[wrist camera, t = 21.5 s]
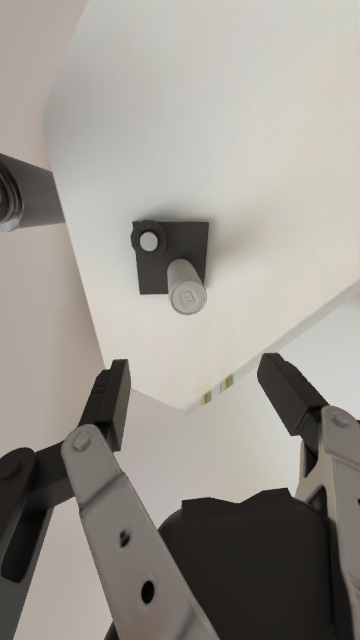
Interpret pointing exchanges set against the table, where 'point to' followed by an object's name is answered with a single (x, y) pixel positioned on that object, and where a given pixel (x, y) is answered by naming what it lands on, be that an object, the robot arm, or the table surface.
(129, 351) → the table surface
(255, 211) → the table surface
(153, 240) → the button
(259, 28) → the table surface
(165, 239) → the scale
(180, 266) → the beverage can
